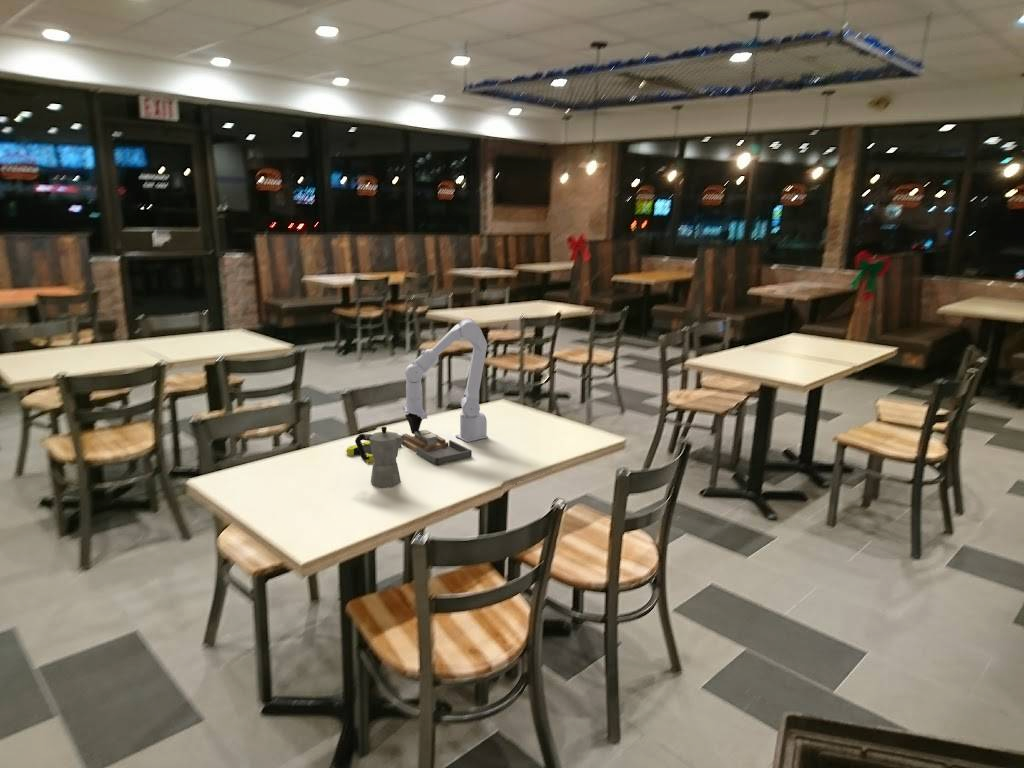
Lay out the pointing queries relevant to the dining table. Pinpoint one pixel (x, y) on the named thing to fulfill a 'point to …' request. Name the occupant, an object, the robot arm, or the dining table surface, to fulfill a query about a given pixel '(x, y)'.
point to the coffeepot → (383, 457)
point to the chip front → (429, 439)
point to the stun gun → (367, 448)
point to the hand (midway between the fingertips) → (415, 433)
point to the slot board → (414, 443)
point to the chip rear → (420, 434)
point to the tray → (445, 453)
